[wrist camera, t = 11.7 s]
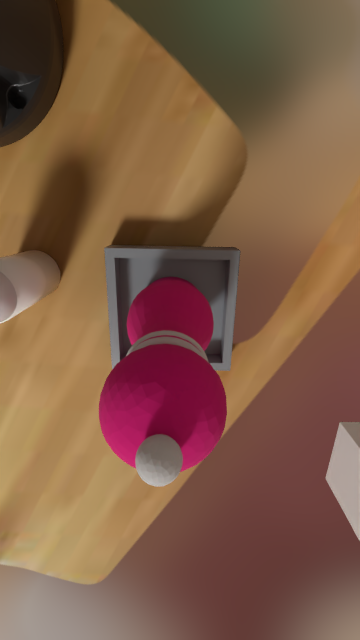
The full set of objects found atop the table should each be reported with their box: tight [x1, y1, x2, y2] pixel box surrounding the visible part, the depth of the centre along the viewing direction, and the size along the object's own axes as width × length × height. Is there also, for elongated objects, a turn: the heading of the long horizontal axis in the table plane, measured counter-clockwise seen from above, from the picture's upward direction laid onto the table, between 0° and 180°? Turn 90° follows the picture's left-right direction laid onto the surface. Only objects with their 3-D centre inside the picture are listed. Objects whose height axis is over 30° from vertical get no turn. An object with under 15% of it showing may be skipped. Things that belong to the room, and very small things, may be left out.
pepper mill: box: [99, 277, 227, 486], centre depth 20 cm, size 7×7×20 cm
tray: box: [104, 245, 240, 371], centre depth 29 cm, size 12×12×2 cm
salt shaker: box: [0, 250, 60, 323], centre depth 24 cm, size 4×4×10 cm
